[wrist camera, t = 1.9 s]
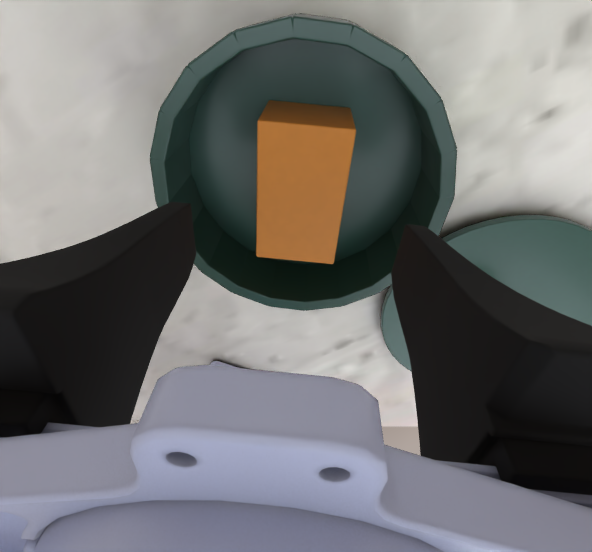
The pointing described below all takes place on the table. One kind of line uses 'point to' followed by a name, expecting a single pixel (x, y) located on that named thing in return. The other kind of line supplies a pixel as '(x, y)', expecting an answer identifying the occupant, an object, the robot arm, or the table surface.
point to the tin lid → (519, 267)
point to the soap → (302, 179)
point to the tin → (363, 170)
